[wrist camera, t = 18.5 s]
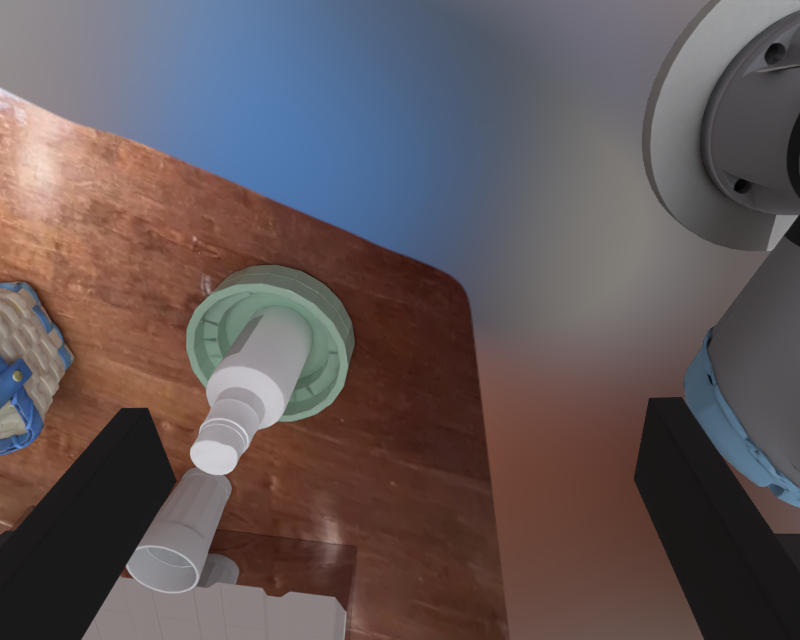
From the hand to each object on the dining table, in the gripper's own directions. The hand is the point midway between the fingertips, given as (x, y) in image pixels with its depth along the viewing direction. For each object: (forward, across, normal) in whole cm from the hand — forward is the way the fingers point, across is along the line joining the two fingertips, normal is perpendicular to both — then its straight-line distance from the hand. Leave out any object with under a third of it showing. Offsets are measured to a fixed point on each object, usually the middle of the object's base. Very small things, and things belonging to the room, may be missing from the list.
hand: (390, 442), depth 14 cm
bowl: (+35, -16, -16) cm, 41 cm away
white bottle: (+34, -16, -16) cm, 41 cm away
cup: (+35, -30, -38) cm, 60 cm away
